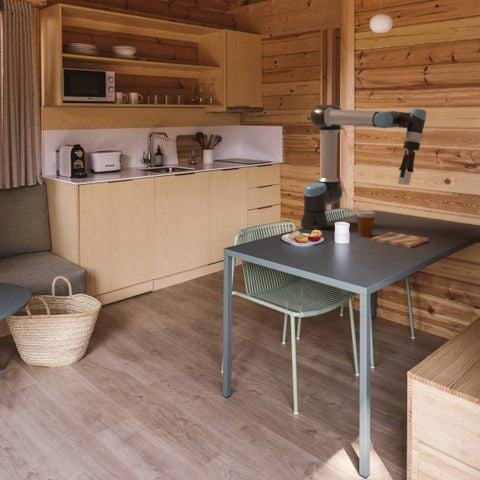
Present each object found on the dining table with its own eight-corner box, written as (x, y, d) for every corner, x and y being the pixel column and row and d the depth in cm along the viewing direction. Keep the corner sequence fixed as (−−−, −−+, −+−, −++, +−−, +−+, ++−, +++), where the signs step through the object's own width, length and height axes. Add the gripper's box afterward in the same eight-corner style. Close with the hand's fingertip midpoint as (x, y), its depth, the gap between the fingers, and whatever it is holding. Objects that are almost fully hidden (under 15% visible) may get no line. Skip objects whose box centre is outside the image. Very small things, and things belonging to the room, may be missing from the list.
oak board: (371, 241, 268) (371, 238, 267) (390, 235, 280) (390, 232, 280) (409, 247, 254) (409, 244, 254) (427, 241, 266) (427, 238, 266)
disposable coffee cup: (362, 238, 274) (363, 214, 271) (351, 234, 283) (352, 211, 280) (378, 236, 278) (379, 212, 275) (367, 232, 286) (368, 209, 284)
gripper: (415, 140, 258) (406, 185, 262) (424, 144, 280) (415, 185, 284) (399, 138, 261) (390, 182, 265) (409, 142, 283) (401, 183, 287)
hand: (403, 184), depth 274 cm, fingers open, 13 cm apart
